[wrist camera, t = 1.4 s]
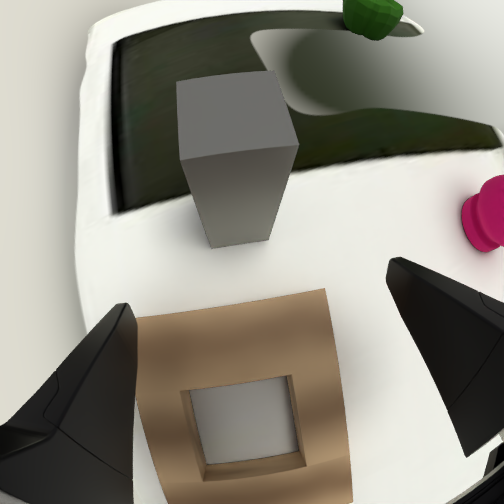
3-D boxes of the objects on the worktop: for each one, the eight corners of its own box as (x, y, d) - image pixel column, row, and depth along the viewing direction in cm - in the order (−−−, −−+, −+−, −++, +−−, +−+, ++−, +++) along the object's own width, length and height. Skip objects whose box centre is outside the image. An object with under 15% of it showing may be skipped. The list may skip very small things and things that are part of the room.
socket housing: (342, 486, 18) (353, 501, 15) (184, 510, 17) (178, 528, 14) (314, 292, 22) (324, 288, 19) (136, 320, 21) (122, 319, 18)
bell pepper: (329, 15, 32) (341, -34, 23) (374, 22, 33) (390, -22, 23) (348, 43, 30) (367, -12, 21) (396, 50, 31) (419, 3, 21)
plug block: (268, 239, 23) (299, 145, 11) (211, 248, 23) (179, 160, 10) (258, 188, 24) (274, 70, 12) (204, 196, 24) (176, 81, 11)
